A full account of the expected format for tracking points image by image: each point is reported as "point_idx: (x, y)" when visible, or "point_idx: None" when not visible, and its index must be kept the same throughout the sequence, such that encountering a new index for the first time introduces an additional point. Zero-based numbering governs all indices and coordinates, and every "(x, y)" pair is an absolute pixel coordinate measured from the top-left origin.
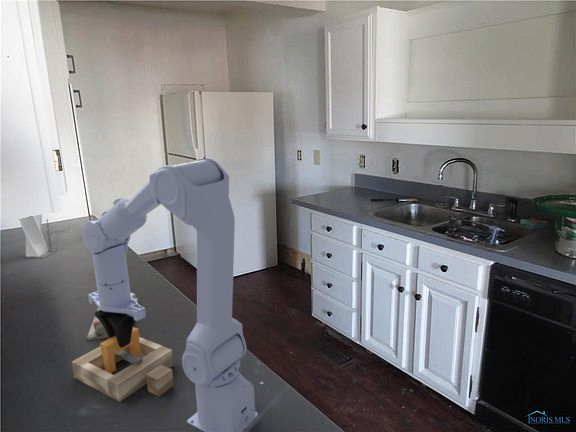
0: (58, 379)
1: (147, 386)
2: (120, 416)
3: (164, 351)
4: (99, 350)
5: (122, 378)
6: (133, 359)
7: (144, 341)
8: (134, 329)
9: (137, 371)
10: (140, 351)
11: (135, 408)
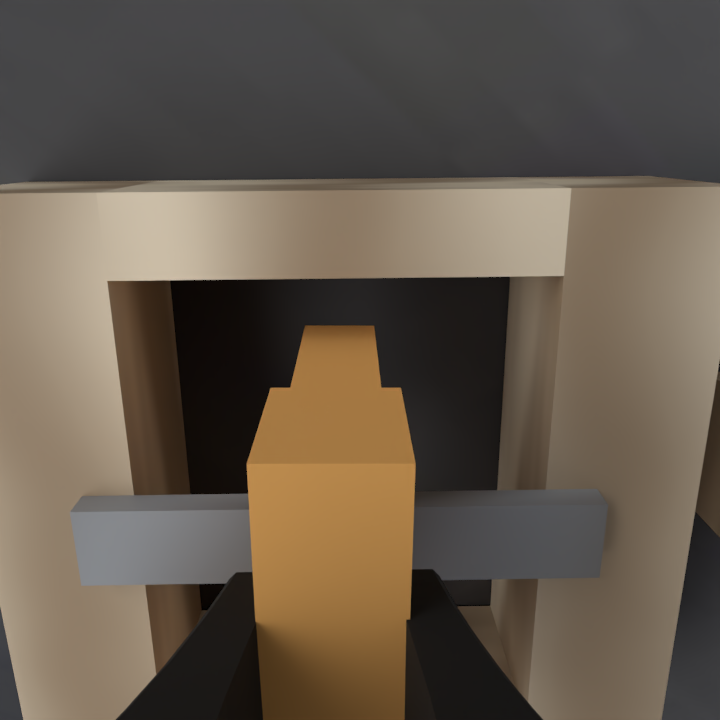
0: (9, 702)
1: (712, 529)
2: (677, 701)
3: (686, 257)
4: (59, 586)
5: (626, 716)
6: (535, 556)
7: (308, 233)
8: (367, 502)
9: (671, 606)
10: (374, 337)
11: (711, 624)
